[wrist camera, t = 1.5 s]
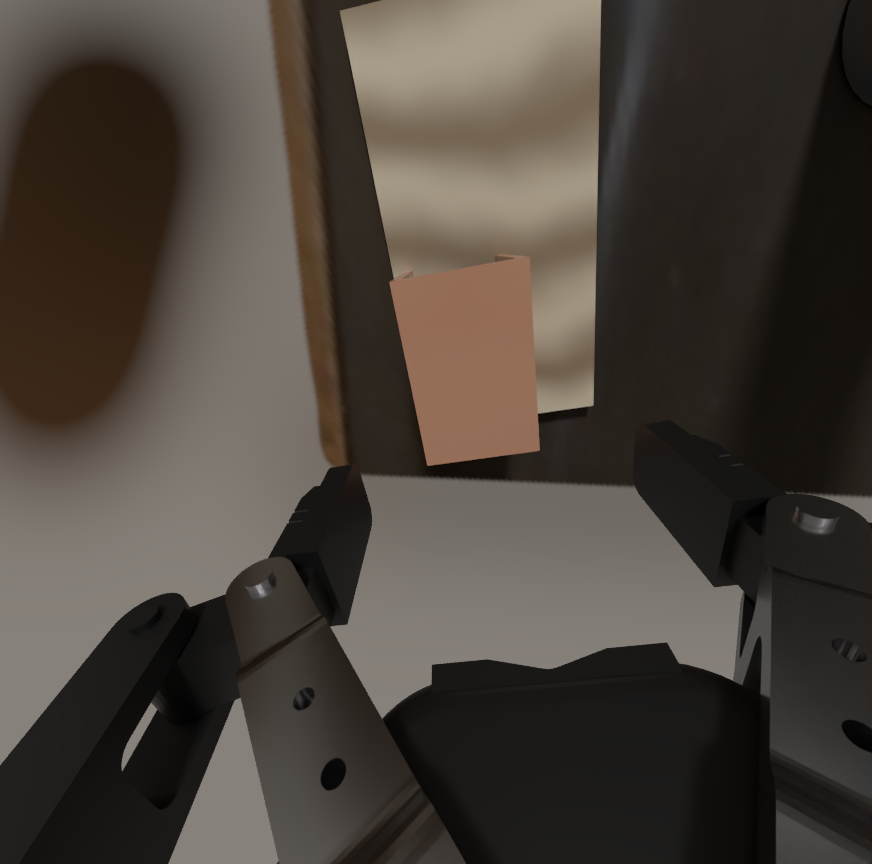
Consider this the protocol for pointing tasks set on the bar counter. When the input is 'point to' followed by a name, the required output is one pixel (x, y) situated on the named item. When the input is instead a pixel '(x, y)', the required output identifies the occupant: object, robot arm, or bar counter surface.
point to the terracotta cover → (471, 358)
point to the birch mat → (491, 153)
